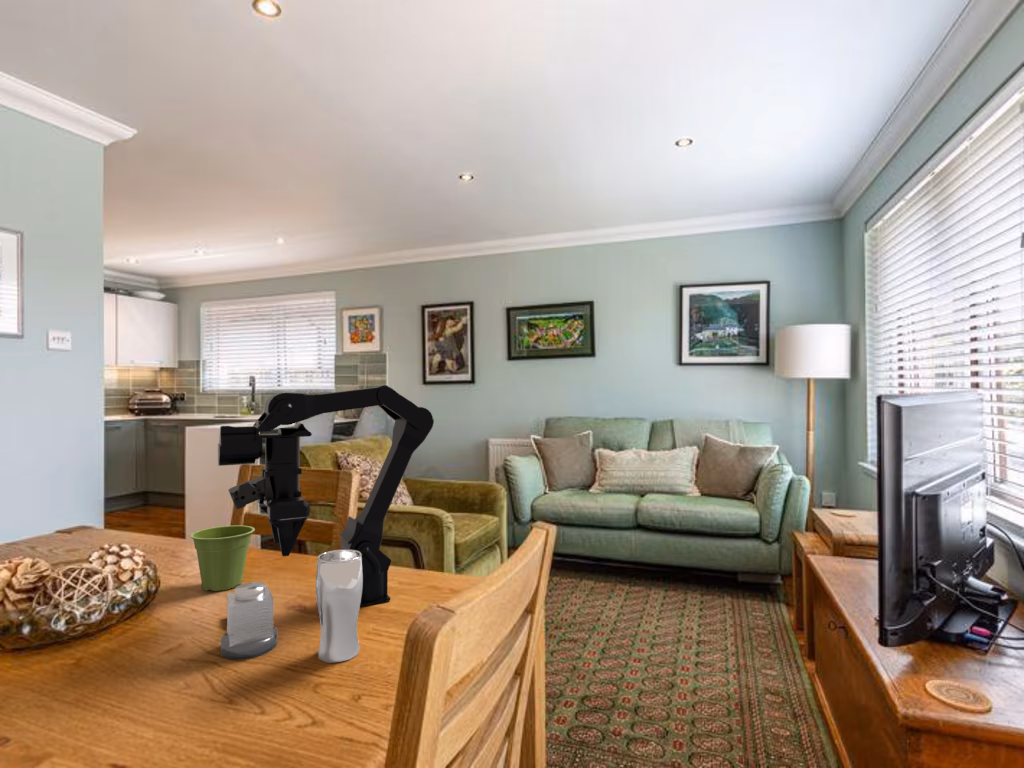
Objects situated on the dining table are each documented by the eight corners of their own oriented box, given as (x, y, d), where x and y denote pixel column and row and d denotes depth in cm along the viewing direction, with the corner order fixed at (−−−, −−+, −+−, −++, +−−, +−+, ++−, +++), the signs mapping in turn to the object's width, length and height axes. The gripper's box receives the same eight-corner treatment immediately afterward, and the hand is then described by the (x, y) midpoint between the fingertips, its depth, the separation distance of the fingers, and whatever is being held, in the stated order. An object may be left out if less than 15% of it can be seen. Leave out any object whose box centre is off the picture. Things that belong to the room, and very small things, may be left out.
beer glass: (371, 646, 85) (372, 551, 85) (343, 667, 78) (344, 564, 79) (334, 640, 87) (335, 547, 88) (304, 660, 81) (305, 559, 81)
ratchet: (280, 651, 83) (281, 612, 84) (222, 664, 79) (222, 623, 79) (265, 610, 99) (265, 577, 99) (216, 619, 95) (216, 585, 95)
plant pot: (265, 582, 114) (266, 529, 114) (209, 600, 104) (209, 542, 104) (234, 572, 120) (234, 522, 120) (177, 588, 110) (178, 533, 110)
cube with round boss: (268, 623, 89) (268, 577, 89) (273, 637, 84) (273, 589, 84) (227, 631, 86) (227, 584, 86) (229, 646, 81) (230, 596, 81)
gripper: (228, 459, 101) (227, 543, 100) (236, 471, 85) (235, 571, 84) (292, 456, 107) (291, 535, 106) (310, 467, 91) (309, 560, 90)
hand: (281, 549), depth 97 cm, fingers open, 9 cm apart
